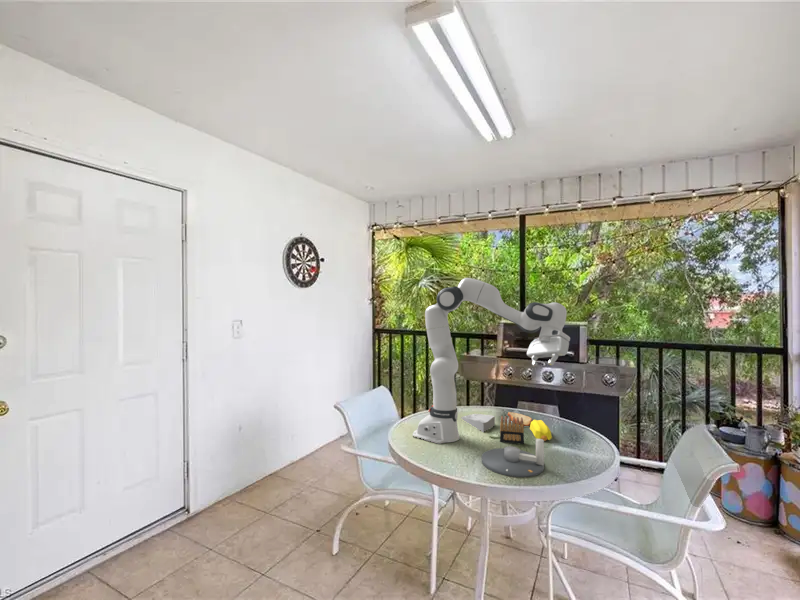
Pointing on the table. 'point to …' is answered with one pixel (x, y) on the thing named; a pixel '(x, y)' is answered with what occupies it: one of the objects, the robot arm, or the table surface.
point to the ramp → (480, 421)
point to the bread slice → (526, 419)
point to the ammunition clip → (512, 431)
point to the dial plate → (510, 464)
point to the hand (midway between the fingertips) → (542, 365)
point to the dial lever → (514, 454)
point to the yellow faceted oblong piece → (540, 430)
